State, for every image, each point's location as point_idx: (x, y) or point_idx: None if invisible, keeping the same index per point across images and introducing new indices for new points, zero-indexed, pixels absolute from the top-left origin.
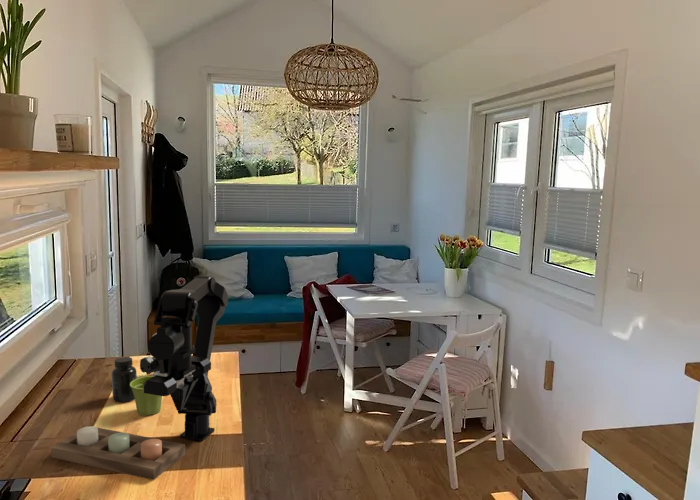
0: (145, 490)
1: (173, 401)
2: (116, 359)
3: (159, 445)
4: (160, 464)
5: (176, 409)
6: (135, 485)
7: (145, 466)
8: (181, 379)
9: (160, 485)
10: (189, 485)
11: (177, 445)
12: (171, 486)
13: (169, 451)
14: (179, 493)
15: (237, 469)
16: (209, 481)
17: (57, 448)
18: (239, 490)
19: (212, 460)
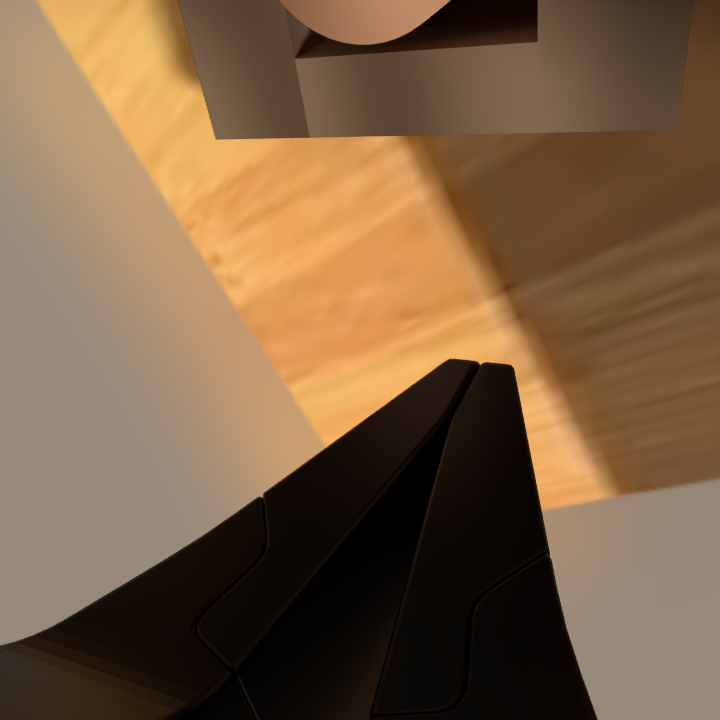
0: (162, 138)
1: (321, 458)
2: None
3: (364, 44)
4: (293, 135)
5: (446, 361)
6: (152, 35)
7: (202, 49)
8: None
9: (243, 188)
10: (329, 333)
11: (629, 66)
12: (271, 252)
13: (485, 71)
14: (252, 321)
15: (582, 495)
16: None
17: None
18: None
19: (643, 341)
